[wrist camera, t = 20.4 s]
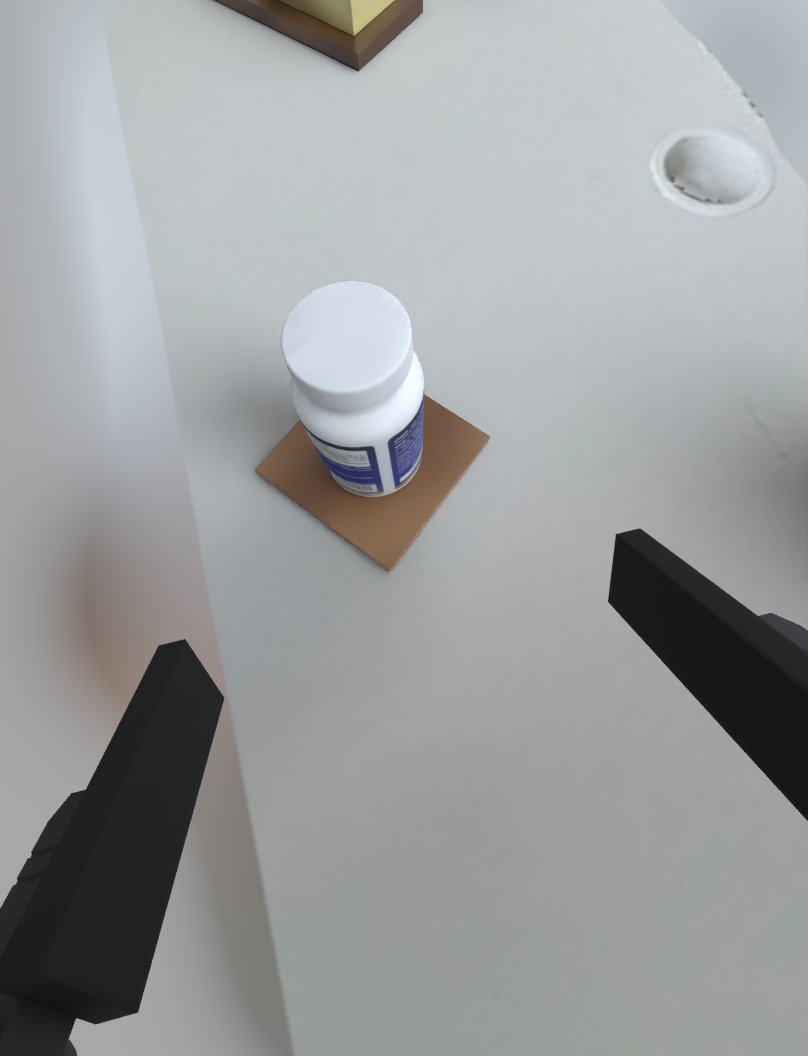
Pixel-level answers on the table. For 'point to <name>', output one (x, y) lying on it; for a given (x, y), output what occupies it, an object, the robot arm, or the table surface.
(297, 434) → the cork coaster
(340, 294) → the pill bottle
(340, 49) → the butter board
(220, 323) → the table surface
